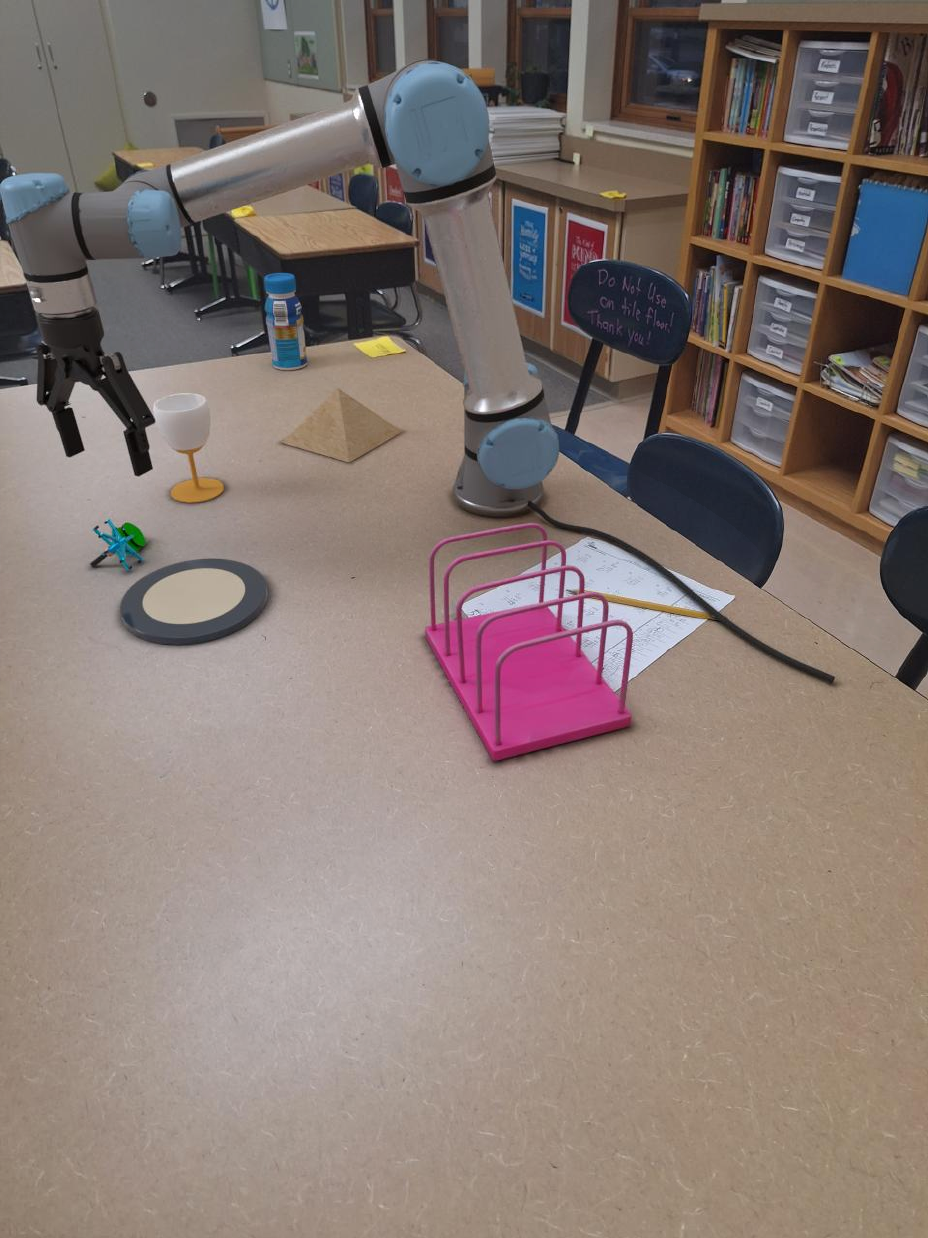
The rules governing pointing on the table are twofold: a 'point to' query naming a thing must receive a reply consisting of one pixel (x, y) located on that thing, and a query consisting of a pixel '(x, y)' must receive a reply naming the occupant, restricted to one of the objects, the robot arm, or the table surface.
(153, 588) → the plate
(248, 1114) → the table surface
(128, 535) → the spiky blue green toy
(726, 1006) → the table surface
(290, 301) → the beverage bottle
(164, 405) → the cup
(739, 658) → the table surface
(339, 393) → the model pyramid
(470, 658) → the file sorter
